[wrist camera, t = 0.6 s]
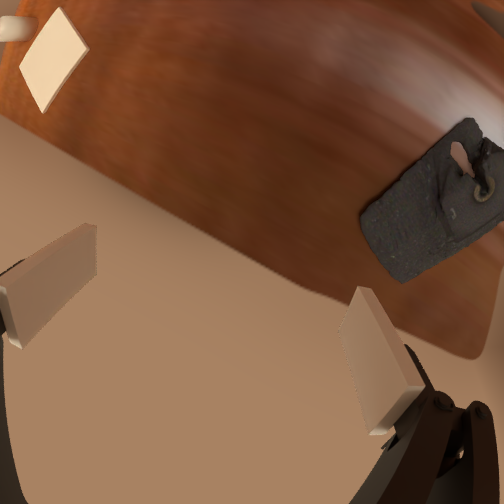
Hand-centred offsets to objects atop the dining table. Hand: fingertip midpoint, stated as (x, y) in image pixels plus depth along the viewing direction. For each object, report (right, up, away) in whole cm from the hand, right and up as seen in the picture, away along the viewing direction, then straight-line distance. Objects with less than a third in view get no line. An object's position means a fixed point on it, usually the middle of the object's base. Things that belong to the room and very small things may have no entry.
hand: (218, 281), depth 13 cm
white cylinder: (-39, +42, +14) cm, 59 cm away
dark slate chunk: (+25, +7, +17) cm, 31 cm away
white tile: (-31, +33, +16) cm, 49 cm away
